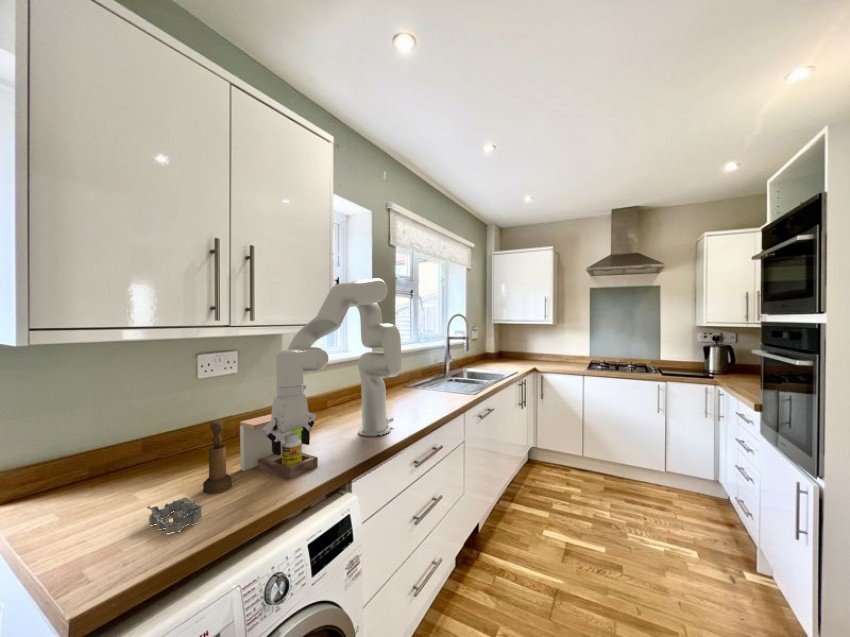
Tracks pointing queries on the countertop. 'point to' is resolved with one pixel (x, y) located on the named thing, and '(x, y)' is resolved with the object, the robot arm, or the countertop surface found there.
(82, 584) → the countertop surface
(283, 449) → the supplement bottle
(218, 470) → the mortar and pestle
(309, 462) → the socket block
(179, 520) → the egg carton
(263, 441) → the pink-topped white panel
